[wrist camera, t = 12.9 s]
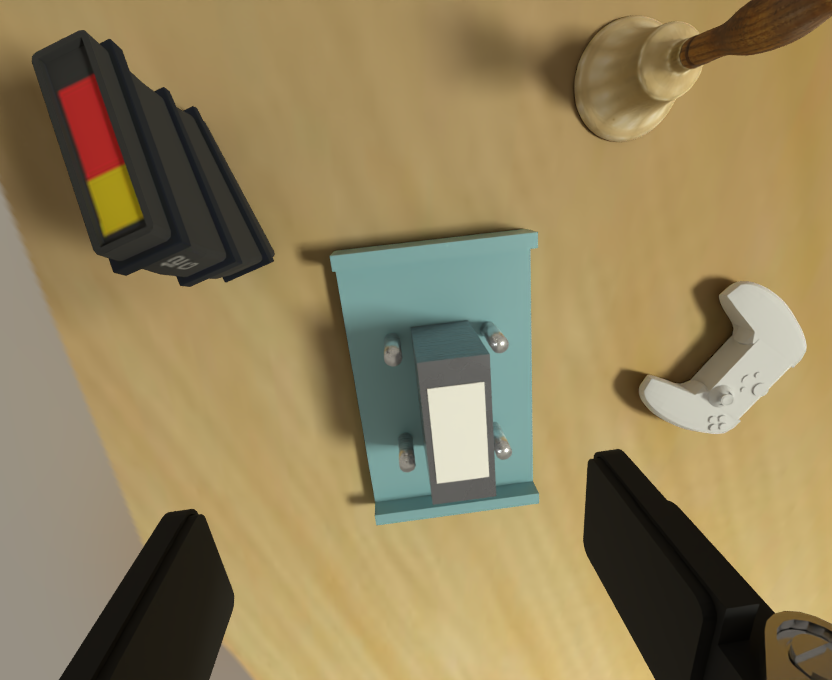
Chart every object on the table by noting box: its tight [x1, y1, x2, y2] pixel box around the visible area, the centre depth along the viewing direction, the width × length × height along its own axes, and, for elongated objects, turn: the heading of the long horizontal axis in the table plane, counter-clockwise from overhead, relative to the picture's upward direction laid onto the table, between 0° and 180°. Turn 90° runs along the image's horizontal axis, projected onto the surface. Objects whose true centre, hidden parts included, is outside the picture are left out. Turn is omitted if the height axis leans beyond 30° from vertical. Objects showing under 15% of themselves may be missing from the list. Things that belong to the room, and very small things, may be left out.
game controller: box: [639, 281, 806, 434], centre depth 39 cm, size 14×4×10 cm
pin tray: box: [330, 229, 539, 525], centre depth 37 cm, size 26×16×5 cm, turn 6°
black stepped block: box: [32, 30, 275, 287], centre depth 27 cm, size 4×13×15 cm, turn 22°
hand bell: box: [574, 0, 832, 142], centre depth 24 cm, size 8×8×16 cm
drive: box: [410, 320, 496, 505], centre depth 34 cm, size 12×5×8 cm, turn 6°
